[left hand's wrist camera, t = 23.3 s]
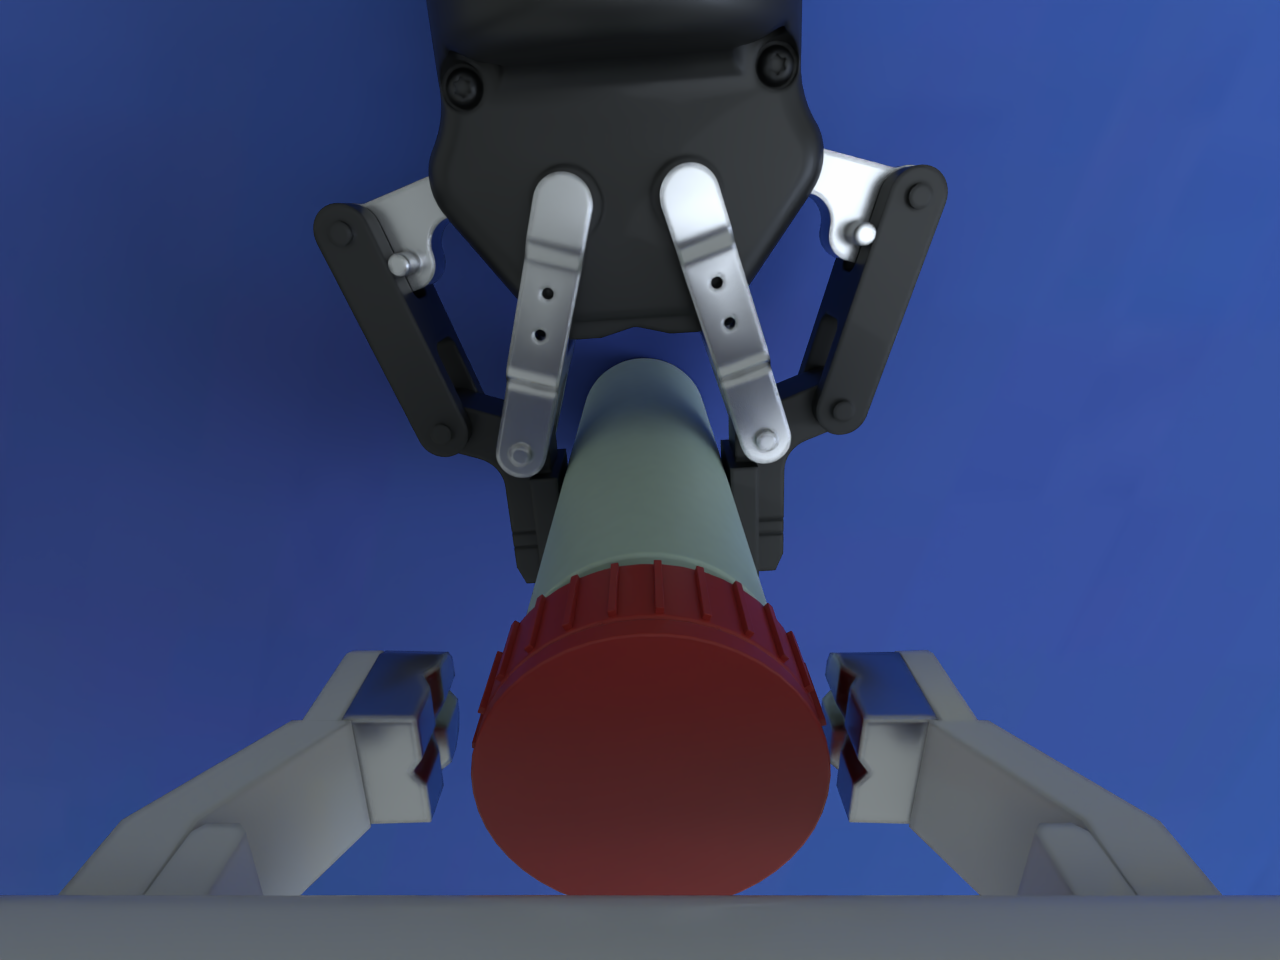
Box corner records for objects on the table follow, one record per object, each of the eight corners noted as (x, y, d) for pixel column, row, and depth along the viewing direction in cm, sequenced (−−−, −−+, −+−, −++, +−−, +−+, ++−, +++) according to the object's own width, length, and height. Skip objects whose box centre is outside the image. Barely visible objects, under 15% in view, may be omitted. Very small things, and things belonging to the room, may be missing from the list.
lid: (861, 730, 11) (901, 825, 9) (608, 853, 12) (603, 960, 10) (700, 496, 9) (714, 558, 8) (427, 659, 10) (386, 745, 9)
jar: (630, 332, 23) (613, 550, 9) (729, 404, 24) (865, 712, 10) (560, 430, 25) (441, 766, 10) (656, 495, 26) (679, 890, 11)
